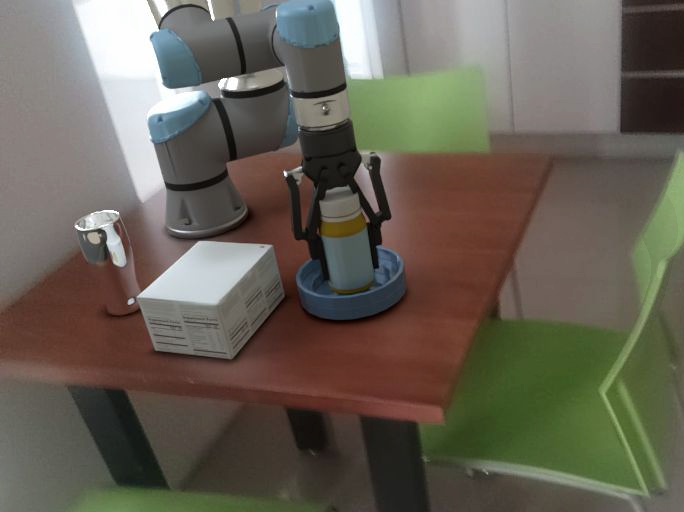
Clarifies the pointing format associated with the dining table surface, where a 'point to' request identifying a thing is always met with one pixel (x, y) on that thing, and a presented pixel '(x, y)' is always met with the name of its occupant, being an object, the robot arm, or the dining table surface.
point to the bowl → (367, 303)
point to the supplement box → (212, 299)
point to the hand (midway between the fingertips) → (350, 270)
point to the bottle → (345, 242)
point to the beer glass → (110, 259)
